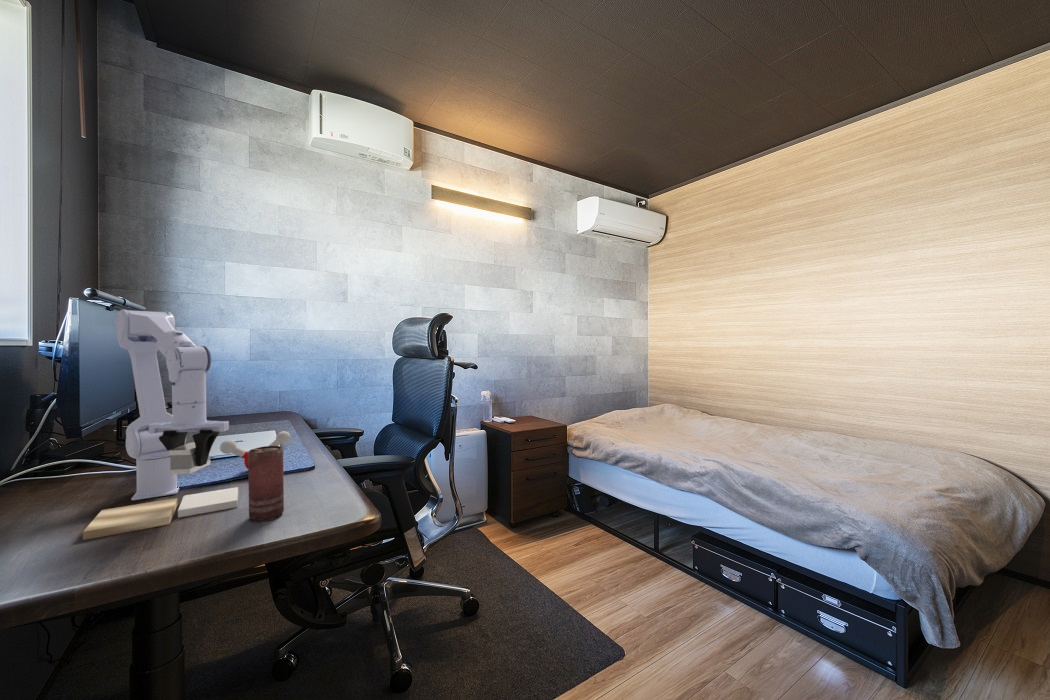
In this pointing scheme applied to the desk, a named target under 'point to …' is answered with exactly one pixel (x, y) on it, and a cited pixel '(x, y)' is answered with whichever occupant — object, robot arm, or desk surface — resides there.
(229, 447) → the molecular model
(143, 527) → the stand
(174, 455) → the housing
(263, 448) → the can
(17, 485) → the desk surface
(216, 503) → the stand
